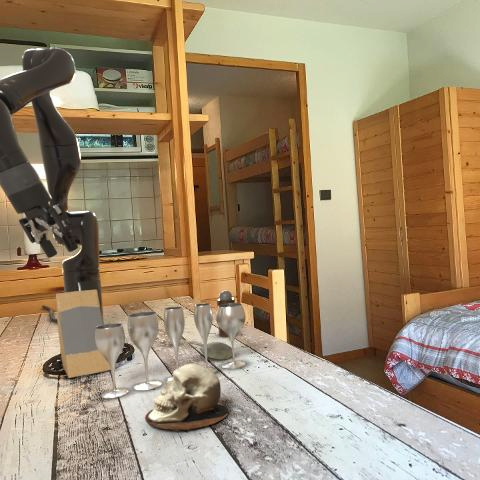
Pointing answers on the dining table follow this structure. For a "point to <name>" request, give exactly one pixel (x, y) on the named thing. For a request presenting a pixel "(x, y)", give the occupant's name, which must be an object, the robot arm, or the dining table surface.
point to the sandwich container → (80, 332)
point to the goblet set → (146, 331)
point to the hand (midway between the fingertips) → (63, 253)
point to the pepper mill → (224, 298)
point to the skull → (188, 400)
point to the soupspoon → (213, 349)
